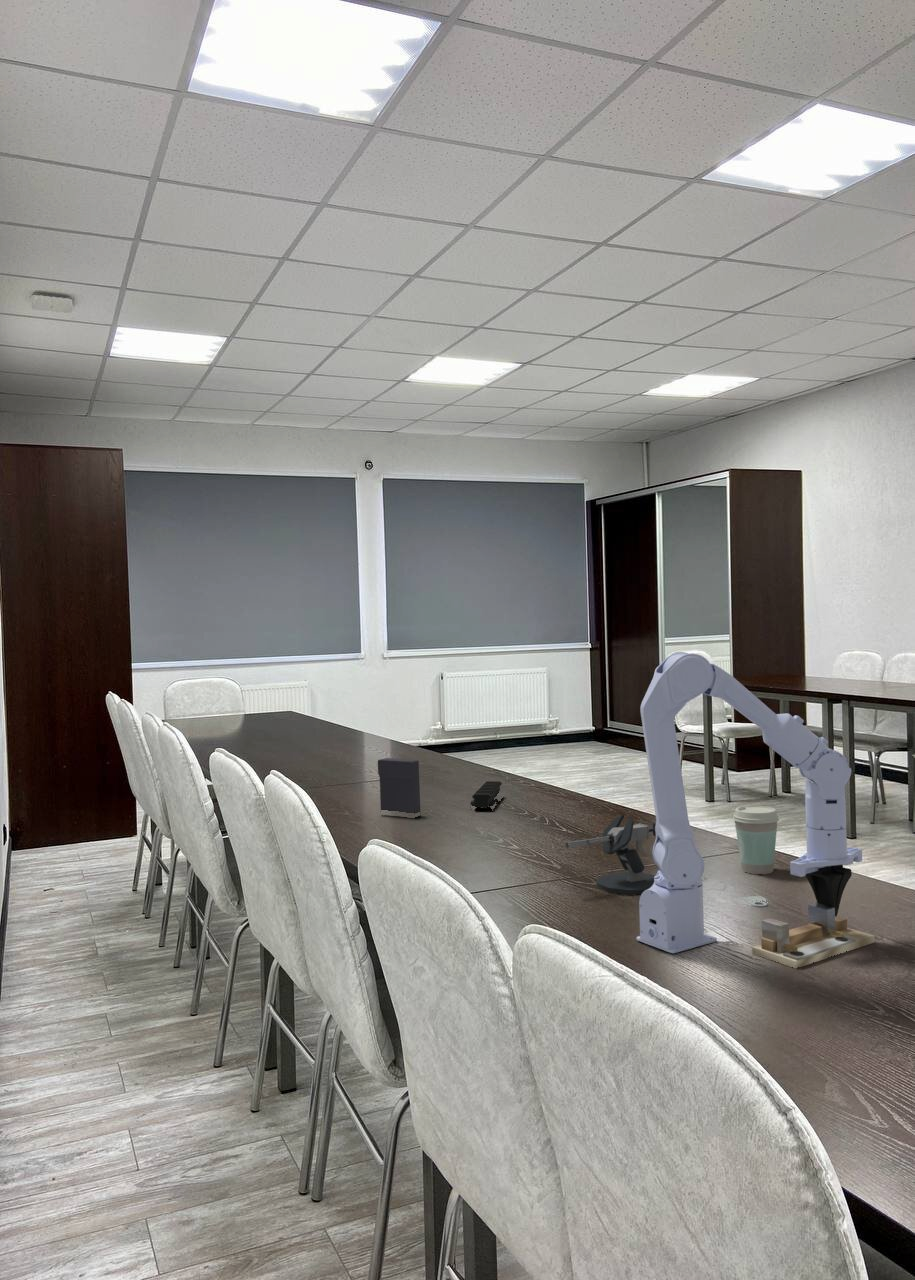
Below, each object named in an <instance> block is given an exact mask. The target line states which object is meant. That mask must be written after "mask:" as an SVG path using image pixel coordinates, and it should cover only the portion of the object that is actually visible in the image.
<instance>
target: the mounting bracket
mask: <svg viewBox="0 0 915 1280" xmlns="http://www.w3.org/2000/svg"><path fill="white" fill-rule="evenodd" d="M734 898H735V899H734ZM734 898H731V899H730V901H733V902H734V903H735V904H738V905H739V904H740V905H739V906H741V907H743V906H745V907H746V905H747V904H748V905H750V906H749V907H755V908H767V907H768V904H769V903H768V902H767V903H765V902H766V899H767V898H766V897H763V896H760V895H753V896H752V895H751V896H742V897H734ZM733 899H734V900H733ZM736 899H737V900H736ZM742 899H743V900H742ZM735 900H736V901H738V902H740V903H738V902H736V901H735ZM744 900H745V901H744ZM756 900H757V901H756ZM762 900H763V901H765V902H762ZM746 901H747V902H748V903H747V902H746ZM752 901H753V902H752ZM760 901H761V902H760ZM741 902H742V904H743V903H744V904H746V905H743V906H742V905H741ZM749 903H750V904H749ZM751 905H752V906H751ZM745 907H744V908H745Z"/></svg>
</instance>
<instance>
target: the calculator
mask: <svg viewBox="0 0 915 1280" xmlns="http://www.w3.org/2000/svg"><path fill="white" fill-rule="evenodd" d="M419 762H420V761H419V760H418V759H409V758H408V759H407V758H393V757H392V758H389V757H385V758H381V759H378V760H377V773H378V776H379V793H380V794H379V798H380V811H381V810H388V811H399V812H406V813H414V814H415V813H418V812H420V813H421V794H420V793H421V789H420V763H419Z"/></svg>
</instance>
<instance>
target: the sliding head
mask: <svg viewBox="0 0 915 1280" xmlns="http://www.w3.org/2000/svg"><path fill="white" fill-rule="evenodd" d="M807 907H808V908H807V909H808V921H809V922H812V923H814V922H816V923H819V924H823V927H824V934H825V935H830V934H833V935H836V936H840V937H843V936H844V933H842V932H839V931H835V908H834V907H831V906H827V905H823V904H819V903H817V902H813V903H810V904H808V905H807Z"/></svg>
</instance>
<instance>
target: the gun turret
mask: <svg viewBox="0 0 915 1280" xmlns="http://www.w3.org/2000/svg"><path fill="white" fill-rule="evenodd" d="M624 817H625V815H624V814H621V815H618V816H616V818H614V819H613V820H612V822H610V823H609V825H608V826H607V827H606V828H604V830H603V833H602V836H601V837H595V838H587V839H581V840H574V841H567V842H564V848H566V849H569V848H573V847H574V848H575V847H580V846H586V845H587V846H590V845H594V844H595V845H596V844H600V843H602V848H603V852H605V854H607V855H613V854H616V856H617V858H618V859H619V862H620V864H621V866H622V868H623V870H626V871H625V872H624V871H622V872H610V873H607V874H604V875H603V874H602V875H601V876H598V877H597V879H596V889H598V888H600V889H602V890H601V891H603V890H605V891H607V892H606V893H608V892H609V893H608V894H613V893H619V894H618V895H622V894H625V895H624V896H635V895H634V894H642V893H643V892H644V891H645V890H647V889H649V888H651V887H652V885H653V884H654V877H655V876H656V875H653V874H651V873H645V872H643V871H644V869H645V865H644V863H643V861H642V859H641V857H640V854H639V853H638V851H639V852H642V851H643V849H644V848H643V840H650V833H652V835H653V836H654V837H656V832H655V825H656V822H653V823H652V828H650V826H649V825H648V824H643V823H640V822H639V823H638V824H637V823H636V824H634V823H635V821H634V819H633V817H631V816H630V817H629V818H628V819H627V821H626V823H625V825H624V826H623V825H622V826H620V825H621V823H622V821H623V819H624ZM633 841H635V848H632V849H630V843H631V842H633ZM600 889H599V890H600ZM605 891H604V892H605Z"/></svg>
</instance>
